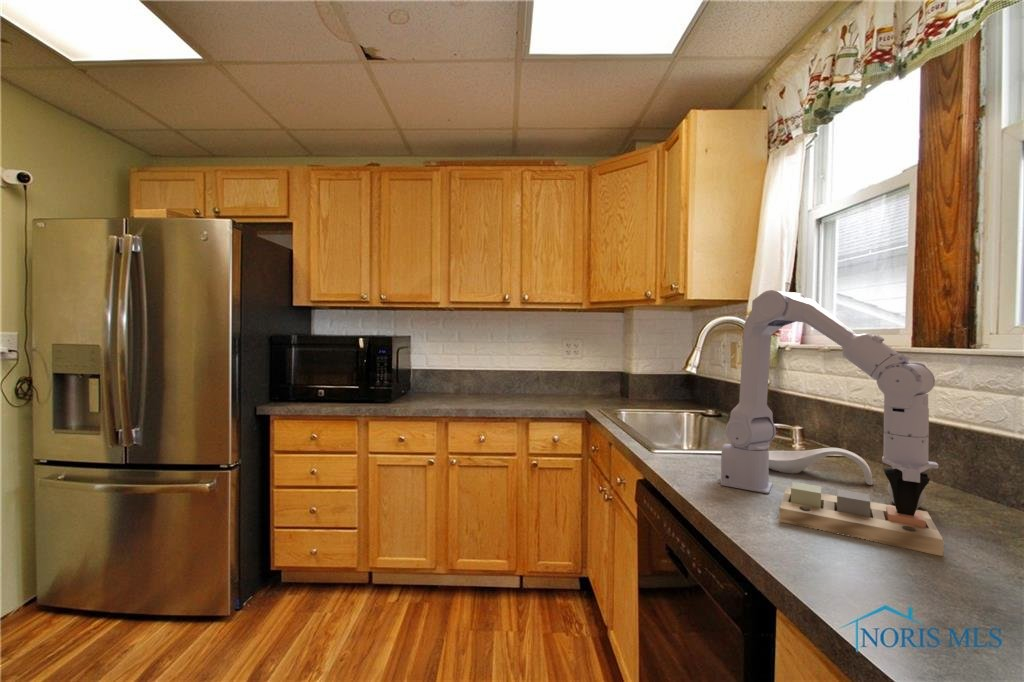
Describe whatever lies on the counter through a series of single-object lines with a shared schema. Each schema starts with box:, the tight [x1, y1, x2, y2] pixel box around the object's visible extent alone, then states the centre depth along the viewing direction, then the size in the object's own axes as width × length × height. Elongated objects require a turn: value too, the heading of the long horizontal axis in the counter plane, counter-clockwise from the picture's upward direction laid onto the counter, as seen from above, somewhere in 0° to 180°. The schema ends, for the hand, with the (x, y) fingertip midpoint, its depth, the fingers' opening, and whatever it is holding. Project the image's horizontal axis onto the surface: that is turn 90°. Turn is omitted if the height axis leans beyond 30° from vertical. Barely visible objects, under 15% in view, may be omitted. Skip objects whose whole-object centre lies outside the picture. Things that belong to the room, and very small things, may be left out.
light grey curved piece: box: [769, 447, 874, 486], centre depth 109 cm, size 24×12×7 cm, turn 53°
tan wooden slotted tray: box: [779, 486, 944, 557], centre depth 79 cm, size 21×14×3 cm, turn 54°
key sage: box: [790, 481, 822, 508], centre depth 83 cm, size 5×5×3 cm
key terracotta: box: [886, 506, 926, 528], centre depth 75 cm, size 5×5×3 cm
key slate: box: [836, 488, 871, 517], centre depth 79 cm, size 5×5×3 cm
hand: (905, 513), depth 75 cm, fingers closed, pressing on key terracotta
